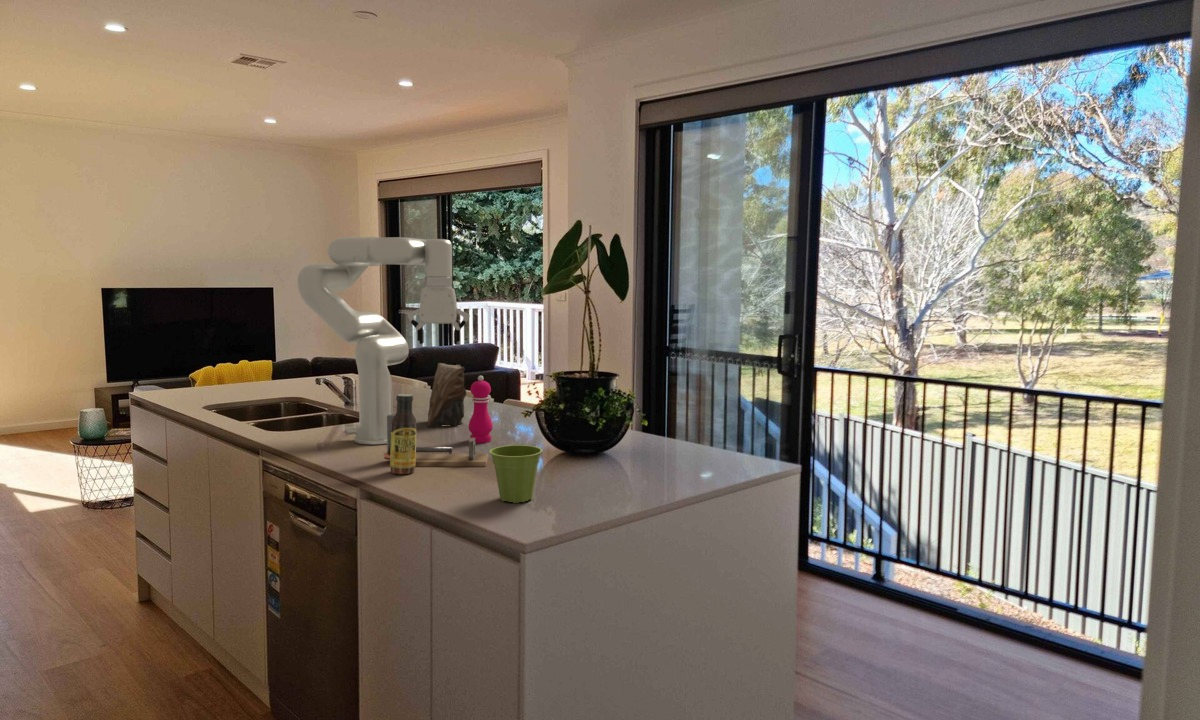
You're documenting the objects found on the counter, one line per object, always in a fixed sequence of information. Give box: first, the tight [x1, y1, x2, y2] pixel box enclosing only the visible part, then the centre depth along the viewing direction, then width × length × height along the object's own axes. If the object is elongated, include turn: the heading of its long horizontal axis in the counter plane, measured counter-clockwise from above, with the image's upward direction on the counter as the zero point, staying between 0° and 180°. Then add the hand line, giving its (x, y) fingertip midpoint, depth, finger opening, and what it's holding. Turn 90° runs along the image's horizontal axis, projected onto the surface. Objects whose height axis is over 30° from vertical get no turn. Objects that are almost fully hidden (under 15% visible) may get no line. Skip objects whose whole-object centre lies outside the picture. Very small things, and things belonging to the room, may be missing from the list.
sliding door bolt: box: [383, 413, 453, 461], centre depth 209 cm, size 18×6×11 cm, turn 94°
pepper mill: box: [468, 375, 493, 444], centre depth 236 cm, size 7×7×20 cm
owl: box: [427, 362, 467, 427], centre depth 263 cm, size 13×13×20 cm
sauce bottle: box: [389, 393, 417, 475], centre depth 197 cm, size 7×6×20 cm
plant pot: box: [488, 444, 543, 504], centre depth 176 cm, size 12×12×11 cm
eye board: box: [415, 438, 489, 467], centre depth 210 cm, size 22×9×6 cm, turn 94°
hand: (438, 343), depth 223 cm, fingers open, 9 cm apart
